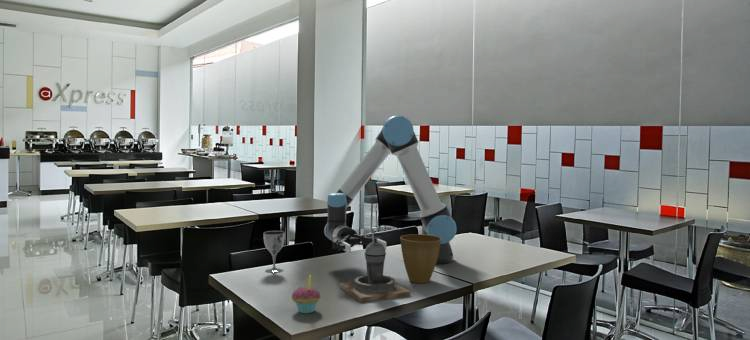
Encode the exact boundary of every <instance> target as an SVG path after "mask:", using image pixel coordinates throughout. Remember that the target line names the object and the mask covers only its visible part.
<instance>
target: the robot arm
mask: <svg viewBox="0 0 750 340" xmlns="http://www.w3.org/2000/svg"><path fill="white" fill-rule="evenodd" d="M374 140H375V142H374V144H373V145H372V146H371V148H370V149H369V150H368V152H367V153H366V154H365V155H364V156H363V158H362V159H361V161H360V162H359V163H358V164H357V165H356V167H355V168H354V170H353V171H352V172H351V173H350V174H349V176H348V177H347V178H346V180H344V182H343V184H342V185H341V186H340V187H339V189H338V190H337V191H336V192H332V193H329V194H328V195H327V201H326V203H327V204H326V205H327V206H326V207H327V222H326V224H325V226H324V229H323V233H324V235H325V237H326V238H327V239H328V240H330V241H331V242H332V250H336V249H337V251H338V252H342V250H343V251H344V252H346V253H347V254H351V253H352V252H351V251H352V248H353V247H354V246H357V245H358V246H363V245H368V244H370V243H371V242H373V240H372V235H369V234H364V235H363V234H362V235H361V234H358V232H357V231H356V230H355V229H354V228H351V227H349V226H347V209H348V207H349V206H350V204H352V202H353V201H354V199H355V198H356V197H357V196H358V195H359V193H360V192H361V191H362V189H363V188H364V186H365V185H366V184H367V183H368V182H369V180H370V179H371V178H372V177H373V175H374V174H375V173H376V171H377V170H378V169H379V168H380V166H381V165H382V164H383V162H384V161H385V160H386V159H387V157H388V156H389V155H390V154H391V155H393V156H395V157H397V159H398V162H399V164H400V166H401V169H402V170H403V173H404V175H405V178H406V180H407V182H408V184H409V186H410V188H411V191H412V194H413V195H414V199H415V200H416V203H417V204H418V206H419V209H420V213H419V218H420V220H421V223H422V228H421V229H422V230H421V232H422V233H421V234H423V235H432V236H437V237H440V238H441V243H440V249H439V254H438V258H437V261H436V265H437V264H449V263H452V262H454V254H453V253H454V252H453V250H452V247H451V243H450V242H451V241H452V240H453V239H454V238H455V237H456V233H457V223H456V221H455V220H454V219H453V217H452V215H451V209H450V207H448V206H447V204H446V203H443V202H442V201H441V200H440V197H439V195H438V193H437V190H436V188H435V186H434V183H433V181H432V179H431V177H430V174H429V172H428V170H427V168H426V165H425V163H424V161H423V159H422V155H421V153H420V152H419V149H418V146H419V142H420V141H419V139H418V138H417V135H416V133H415V131H414V125H413V124H412V121H411V120H410V119H408V118H407V117H406V116H404V115H399V114H397V115H396V114H395V115H393V116H391V117H389V118H387V119H386V120H385V121H384V123H383V125H382V129H381V130H380V132H379V133H378V135H377V136H376V137H375V139H374ZM374 242H379V243H381V244H382V245H383V246H384V248H385V251H386V250H387V241H385V237H381V236H374Z"/></svg>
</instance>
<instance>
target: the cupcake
mask: <svg viewBox="0 0 750 340" xmlns="http://www.w3.org/2000/svg"><path fill="white" fill-rule="evenodd" d="M311 281H312V272H310V273H309V276H308V281H307V286H302V287H299V288H297V289H295V290H294V291H293V292H292V294H291V300H292V301H293V302H294V303H295V304H296V307H297V310H298V312H299V313H301V314H311V313H313V312H315V310H316V307H317V304H318V302H319V300H320V299H321V294H320V291H319V290H318V289H317V288H314V287H311Z"/></svg>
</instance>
